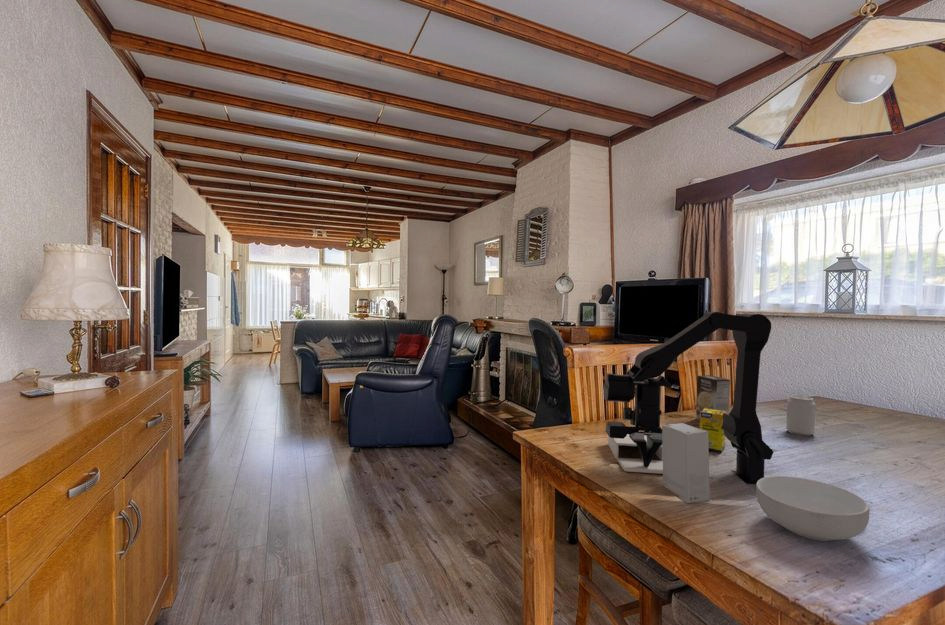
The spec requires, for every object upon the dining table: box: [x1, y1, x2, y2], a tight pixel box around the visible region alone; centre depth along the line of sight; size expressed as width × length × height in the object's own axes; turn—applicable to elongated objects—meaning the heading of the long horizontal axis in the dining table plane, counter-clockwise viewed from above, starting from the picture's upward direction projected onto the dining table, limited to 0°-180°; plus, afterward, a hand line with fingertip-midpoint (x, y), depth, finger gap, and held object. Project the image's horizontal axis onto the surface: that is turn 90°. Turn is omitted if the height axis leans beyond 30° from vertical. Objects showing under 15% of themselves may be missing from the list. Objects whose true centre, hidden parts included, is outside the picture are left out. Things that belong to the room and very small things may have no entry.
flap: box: [616, 457, 663, 475], centre depth 110 cm, size 1×12×9 cm
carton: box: [607, 434, 663, 460], centre depth 120 cm, size 12×12×5 cm
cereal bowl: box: [755, 475, 870, 542], centre depth 82 cm, size 17×17×7 cm
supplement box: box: [699, 408, 726, 454], centre depth 127 cm, size 6×6×11 cm
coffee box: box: [695, 374, 731, 421], centre depth 156 cm, size 9×6×16 cm
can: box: [785, 394, 817, 437], centre depth 144 cm, size 8×8×12 cm
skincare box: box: [661, 422, 710, 504], centre depth 96 cm, size 8×6×15 cm
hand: (645, 466), depth 107 cm, fingers closed, pressing on flap
